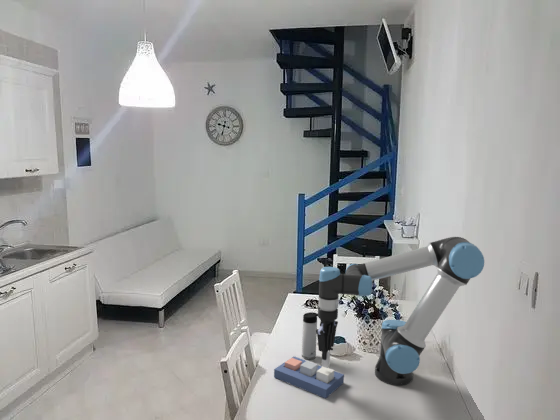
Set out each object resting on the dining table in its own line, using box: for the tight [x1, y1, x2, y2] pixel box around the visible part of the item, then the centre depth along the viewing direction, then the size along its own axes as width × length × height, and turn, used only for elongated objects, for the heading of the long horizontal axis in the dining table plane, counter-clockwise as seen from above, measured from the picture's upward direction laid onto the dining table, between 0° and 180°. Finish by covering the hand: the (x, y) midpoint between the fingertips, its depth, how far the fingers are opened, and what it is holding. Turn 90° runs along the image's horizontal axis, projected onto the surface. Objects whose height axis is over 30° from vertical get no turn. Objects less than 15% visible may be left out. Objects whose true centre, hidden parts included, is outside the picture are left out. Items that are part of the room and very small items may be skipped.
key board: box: [273, 356, 345, 399], centre depth 171 cm, size 24×14×4 cm, turn 54°
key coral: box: [284, 357, 302, 371], centre depth 175 cm, size 5×5×4 cm
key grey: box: [300, 360, 318, 377], centre depth 171 cm, size 5×5×4 cm
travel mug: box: [301, 311, 318, 361], centre depth 190 cm, size 6×7×20 cm
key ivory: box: [316, 366, 335, 384], centre depth 166 cm, size 5×5×4 cm
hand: (325, 366), depth 166 cm, fingers closed
